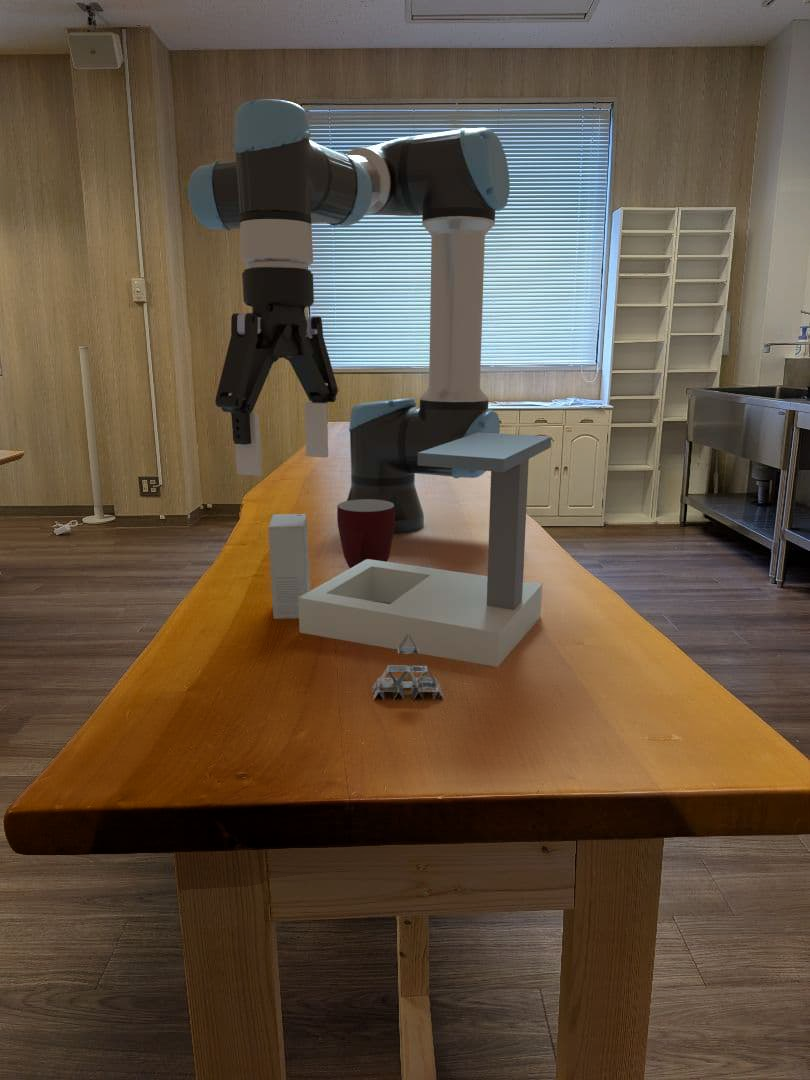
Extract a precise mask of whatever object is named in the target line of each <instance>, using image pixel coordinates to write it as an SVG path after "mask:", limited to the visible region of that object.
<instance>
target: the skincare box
mask: <svg viewBox="0 0 810 1080" xmlns="http://www.w3.org/2000/svg"><path fill="white" fill-rule="evenodd" d="M307 516H308V515H307V514H306V513H294V514H293V513H288V514H287V513H284V514H283V513H282V514H279V513H278V514H272V516H271V519H270V521H269V525H268V528H267V529H268V545H269V549H268V550H269V562H270V563H269V564H270V565H269V566H270V567H269V569H270V584H271V599H272V600H271V601H272V602H271V603H272V612H273V613H272V615H273V617H272V618H273V620H280V619H281V620H282V619H283V620H285V619H299V605H298V597H300V596H302V595H304V594H306V593H307V592H309V591H311V586H310V585H311V583H310V565H309V563H310V562H309V561H310V560H309V537H308V517H307Z"/></svg>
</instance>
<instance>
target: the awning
mask: <svg viewBox="0 0 810 1080" xmlns="http://www.w3.org/2000/svg"><path fill="white" fill-rule="evenodd" d="M551 447H552V436H549V435H531V434H530V435H529V434H514V433H513V434H512V433H511V434H510V433H499V434H497V433H480V432H478V433H475V434H472V435H469V436H466V437H463V438H460V439H457V440H454V441H451V442H448V443H445V444H442V445H439V446H436V447H433V448H430V449H427V450H424V451H421V452H418V465H420V466H432V467H445V468H457V469H469V470H482V471H486V472H490V487H489V488H490V491H489V492H490V494H489V496H490V497H489V519H488V521H489V523H488V554H487V555H488V556H487V557H488V558H487V576H488V579H487V606H491V607H498V608H504V609H510V610H514V609H515V608H516V607H517V606H518V605H519V604H520V603H521V602H522V591H523V581H524V569H525V568H524V566H525V565H524V563H525V547H526V542H525V541H526V523H527V522H526V521H527V505H528V504H527V503H528V481H529V460H530V459H531V458H533V457H536V456H537V455H539V454H540V453H543V452H545V451H547V450H549V449H551Z"/></svg>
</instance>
